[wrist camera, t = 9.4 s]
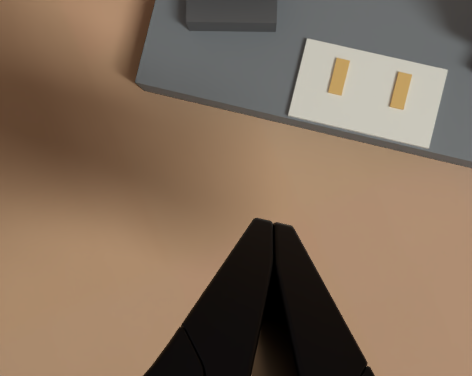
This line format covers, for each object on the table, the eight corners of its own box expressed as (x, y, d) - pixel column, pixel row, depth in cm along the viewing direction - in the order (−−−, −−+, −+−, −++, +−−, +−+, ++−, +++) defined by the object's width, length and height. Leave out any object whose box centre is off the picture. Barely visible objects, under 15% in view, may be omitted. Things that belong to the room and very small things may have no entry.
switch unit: (567, 190, 20) (611, 189, 17) (143, 90, 21) (128, 75, 18) (611, 7, 20) (662, -21, 17) (187, -82, 21) (177, -120, 19)
